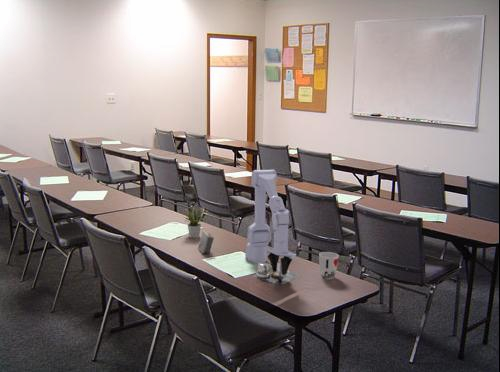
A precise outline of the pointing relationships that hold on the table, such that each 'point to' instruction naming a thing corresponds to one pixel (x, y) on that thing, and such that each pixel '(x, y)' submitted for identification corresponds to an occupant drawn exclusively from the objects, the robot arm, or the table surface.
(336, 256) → the cup
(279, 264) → the gear
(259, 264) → the silver rounded piece
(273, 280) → the carrier
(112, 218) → the table surface
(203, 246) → the electrical switch
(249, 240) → the robot arm
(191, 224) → the house plant
